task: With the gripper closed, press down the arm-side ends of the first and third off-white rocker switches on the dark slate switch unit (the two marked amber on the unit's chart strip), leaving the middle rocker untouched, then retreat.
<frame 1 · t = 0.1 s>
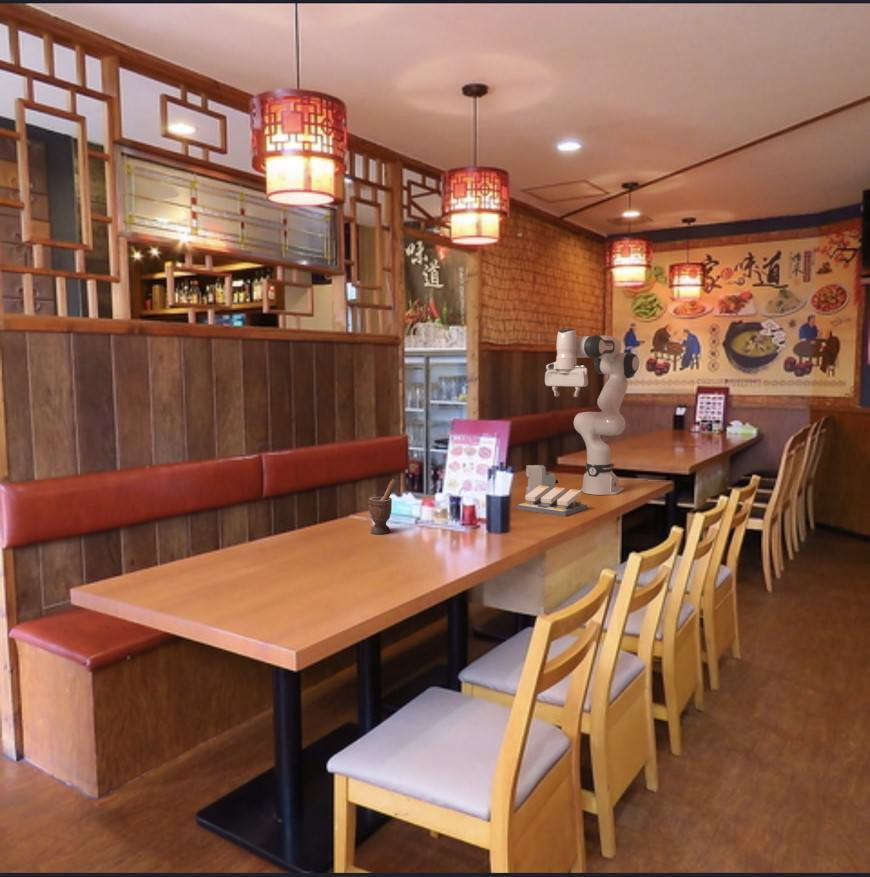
hand: (566, 396, 326), 48 cm above the table, fingers open, 8 cm apart
rocker 1: (537, 493, 323), point 6 cm above the table, hinge at 15.0°
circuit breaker: (542, 498, 343), on the table
rocker 2: (553, 495, 318), point 6 cm above the table, hinge at 15.0°
rocker 3: (569, 497, 312), point 6 cm above the table, hinge at 15.0°
switch unit: (551, 509, 317), on the table
mortar and pestle: (383, 532, 281), on the table
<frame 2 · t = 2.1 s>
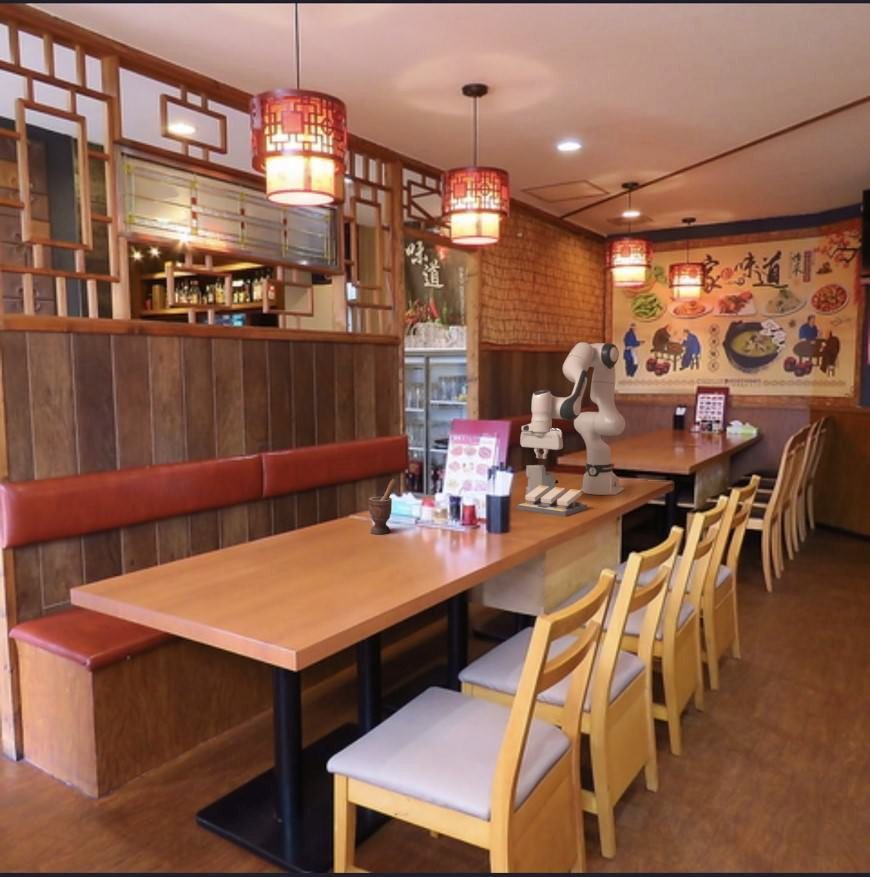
hand: (541, 458, 323), 21 cm above the table, fingers closed
nothing on the table moved.
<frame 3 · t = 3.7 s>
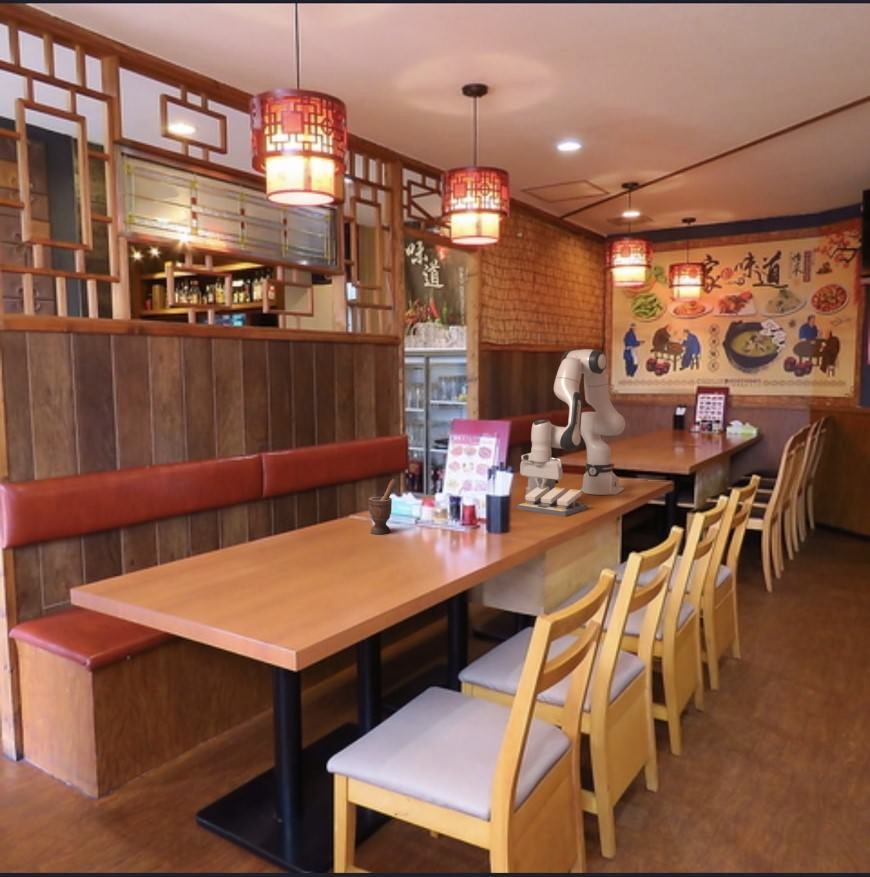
hand: (541, 487, 325), 8 cm above the table, fingers closed, pressing on rocker 1
rocker 1: (537, 493, 323), point 6 cm above the table, hinge at 15.0°, touching gripper
everything else where it was.
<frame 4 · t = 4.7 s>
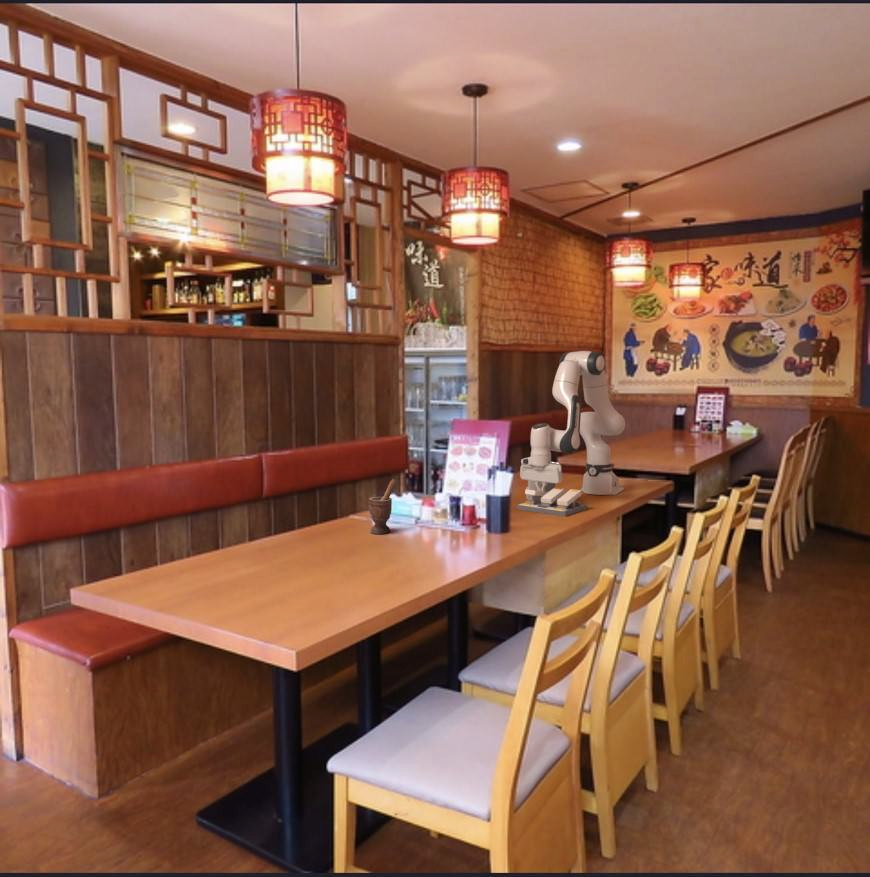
hand: (541, 491, 325), 6 cm above the table, fingers closed, pressing on rocker 1
rocker 1: (537, 493, 323), point 6 cm above the table, hinge at -13.0°, touching gripper
everything else where it was.
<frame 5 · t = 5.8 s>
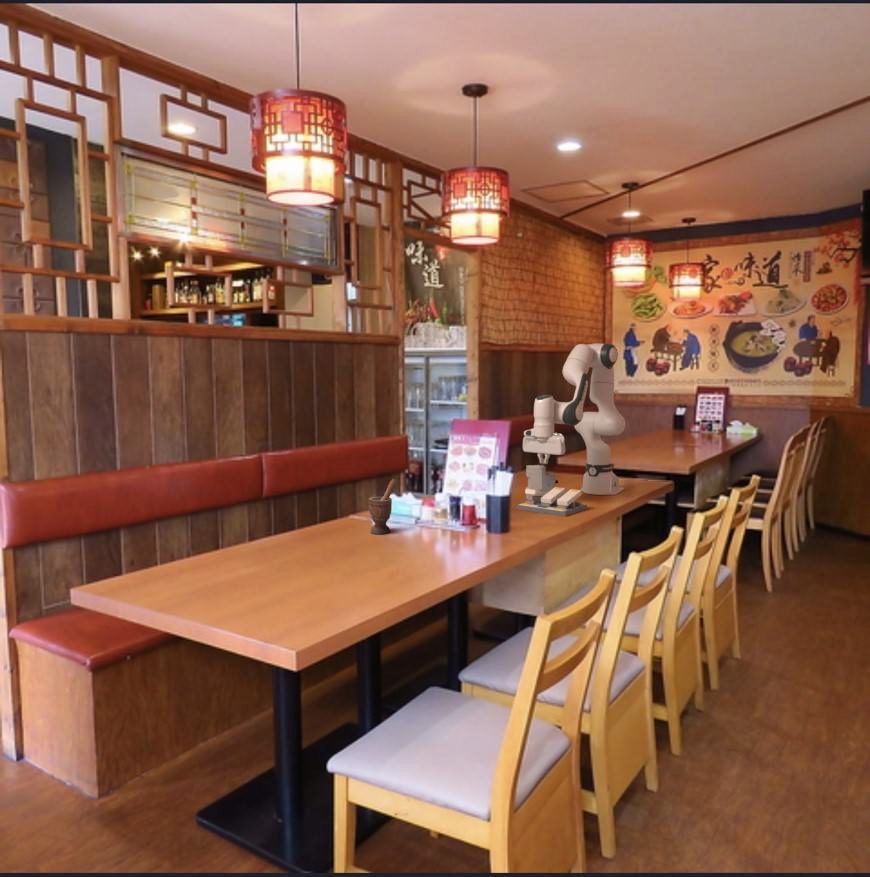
hand: (543, 463, 323), 19 cm above the table, fingers closed
rocker 1: (537, 493, 323), point 6 cm above the table, hinge at -15.1°
everything else where it was.
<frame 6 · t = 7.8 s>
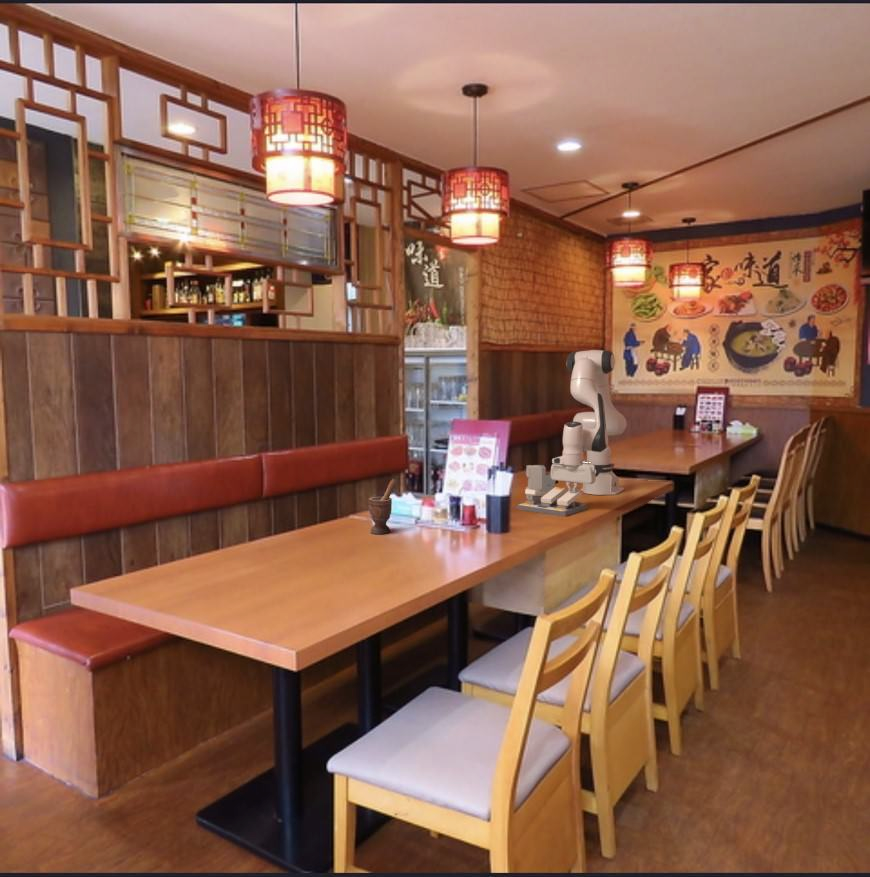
hand: (572, 492, 314), 8 cm above the table, fingers closed, pressing on rocker 3
rocker 1: (537, 493, 323), point 6 cm above the table, hinge at -14.5°
rocker 3: (569, 497, 312), point 6 cm above the table, hinge at 14.9°, touching gripper
everything else where it was.
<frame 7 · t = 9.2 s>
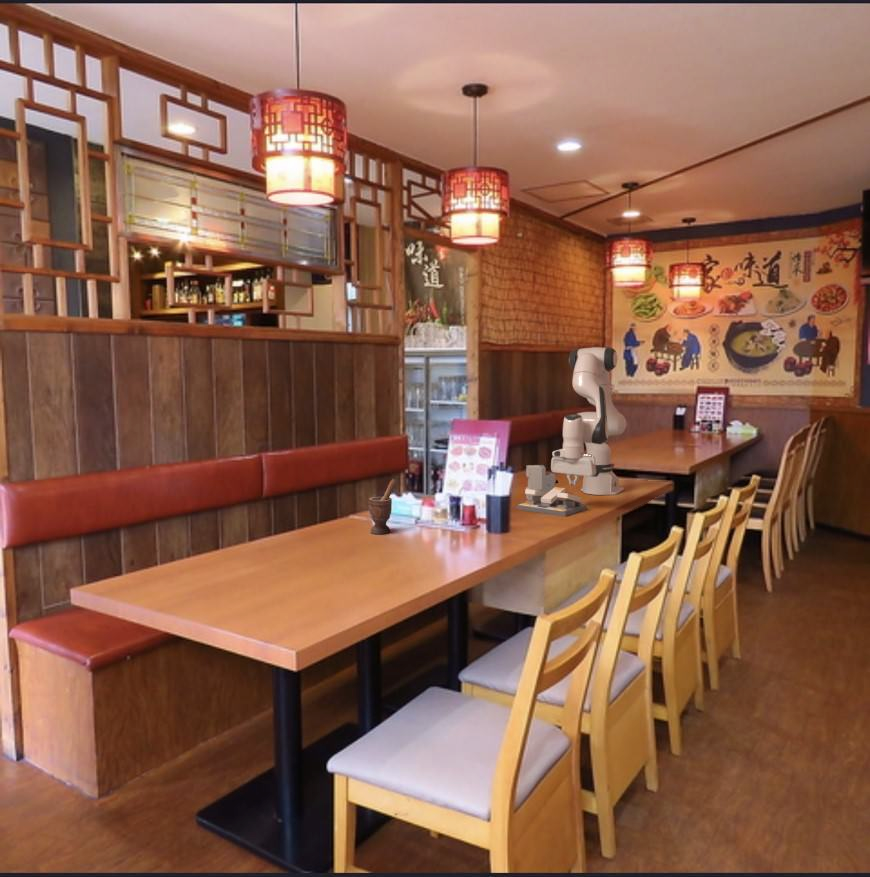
hand: (573, 484, 314), 11 cm above the table, fingers closed
rocker 3: (569, 497, 312), point 6 cm above the table, hinge at -17.6°
everything else where it was.
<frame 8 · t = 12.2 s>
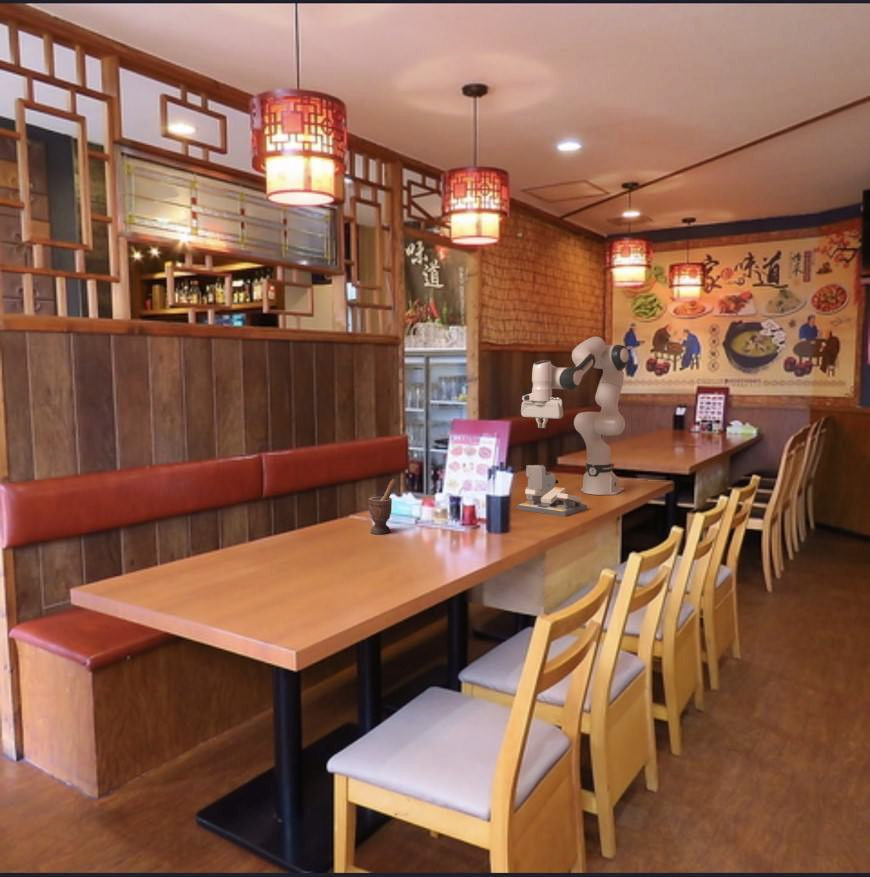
hand: (541, 427, 328), 34 cm above the table, fingers closed
rocker 3: (569, 497, 312), point 6 cm above the table, hinge at -15.6°
everything else where it was.
at the end: rocker 1 at -14° (first picture: +15°); rocker 3 at -16° (first picture: +15°); rocker 2 at +15° (first picture: +15°) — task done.
